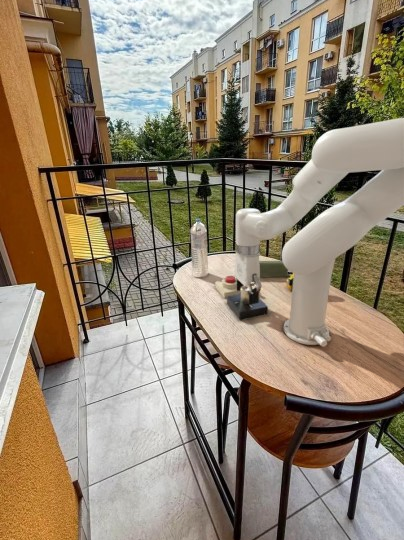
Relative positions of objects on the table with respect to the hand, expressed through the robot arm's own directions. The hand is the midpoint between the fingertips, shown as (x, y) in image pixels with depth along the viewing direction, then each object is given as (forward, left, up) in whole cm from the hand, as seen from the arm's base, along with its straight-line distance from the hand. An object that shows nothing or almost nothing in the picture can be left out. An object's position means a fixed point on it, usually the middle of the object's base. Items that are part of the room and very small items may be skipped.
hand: (247, 296), depth 94 cm
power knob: (0, 0, -2) cm, 2 cm away
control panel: (0, 0, -5) cm, 5 cm away
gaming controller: (+5, -26, -5) cm, 27 cm away
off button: (+15, 0, -1) cm, 15 cm away
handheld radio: (+21, -21, -5) cm, 30 cm away
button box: (+15, 0, -5) cm, 15 cm away
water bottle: (+33, +7, -5) cm, 34 cm away
